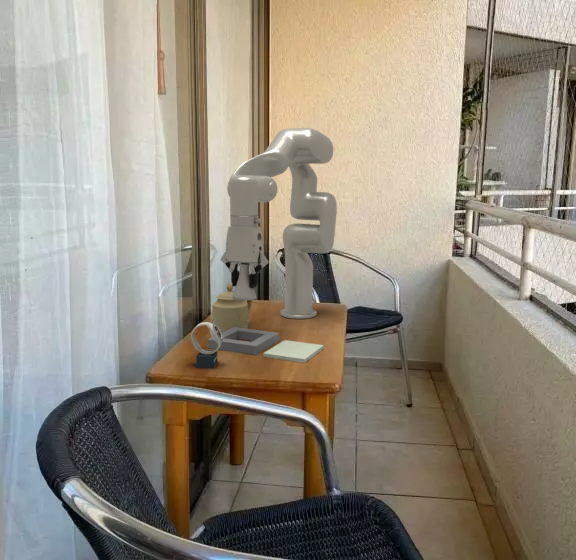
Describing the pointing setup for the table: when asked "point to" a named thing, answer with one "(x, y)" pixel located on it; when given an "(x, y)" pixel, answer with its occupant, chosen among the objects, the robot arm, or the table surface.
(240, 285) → the flask
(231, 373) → the table surface
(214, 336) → the watch
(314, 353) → the sage mat
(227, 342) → the frame
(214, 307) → the sugar bowl
